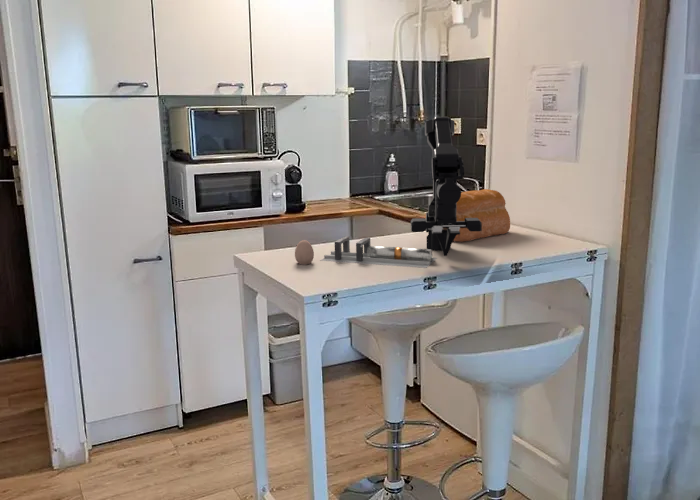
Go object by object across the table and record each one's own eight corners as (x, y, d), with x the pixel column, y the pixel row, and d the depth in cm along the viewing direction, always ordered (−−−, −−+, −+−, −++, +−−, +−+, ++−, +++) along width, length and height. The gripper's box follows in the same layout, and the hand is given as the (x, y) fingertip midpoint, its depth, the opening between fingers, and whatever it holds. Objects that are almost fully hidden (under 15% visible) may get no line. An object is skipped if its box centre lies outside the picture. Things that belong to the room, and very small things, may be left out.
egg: (300, 269, 182) (299, 243, 180) (292, 265, 186) (290, 239, 185) (317, 266, 185) (316, 240, 183) (308, 262, 189) (307, 237, 187)
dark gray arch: (370, 255, 193) (370, 237, 192) (361, 261, 186) (361, 243, 184) (365, 254, 193) (365, 237, 192) (356, 261, 186) (356, 243, 185)
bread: (431, 238, 220) (431, 192, 216) (484, 228, 235) (485, 185, 231) (460, 244, 209) (461, 196, 206) (514, 233, 224) (516, 188, 221)
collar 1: (349, 253, 195) (349, 236, 194) (339, 260, 188) (339, 242, 187) (345, 253, 196) (344, 236, 194) (334, 259, 188) (334, 241, 187)
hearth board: (436, 260, 188) (436, 255, 188) (426, 270, 177) (426, 264, 177) (335, 253, 199) (335, 248, 199) (320, 263, 188) (320, 257, 188)
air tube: (431, 262, 184) (432, 250, 185) (428, 261, 181) (429, 248, 181) (370, 258, 191) (371, 246, 191) (366, 257, 187) (367, 244, 188)
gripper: (476, 194, 185) (475, 249, 188) (409, 195, 186) (409, 249, 189) (482, 200, 174) (481, 258, 177) (411, 201, 175) (411, 258, 178)
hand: (445, 255), depth 181 cm, fingers closed
